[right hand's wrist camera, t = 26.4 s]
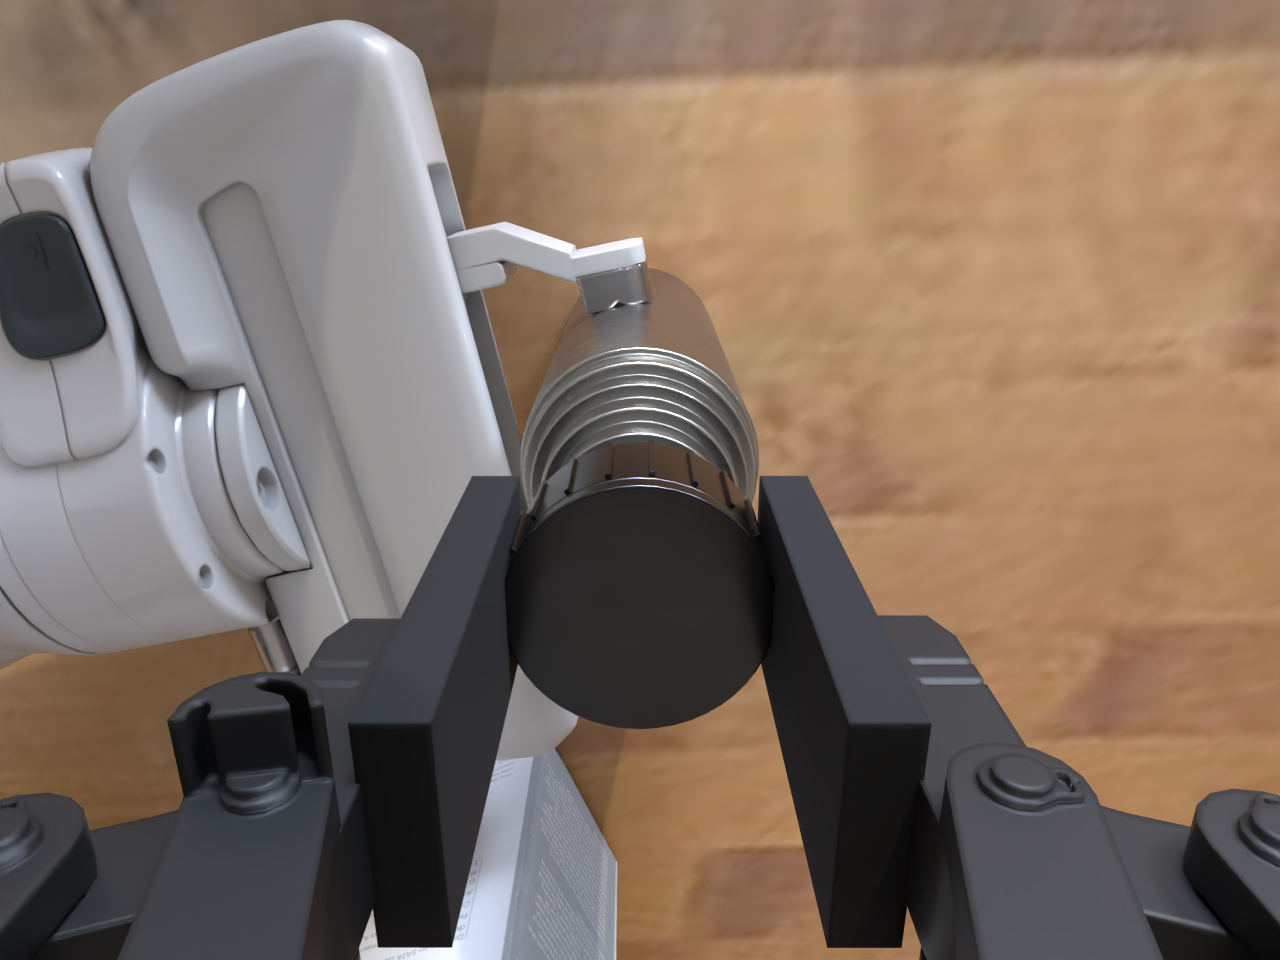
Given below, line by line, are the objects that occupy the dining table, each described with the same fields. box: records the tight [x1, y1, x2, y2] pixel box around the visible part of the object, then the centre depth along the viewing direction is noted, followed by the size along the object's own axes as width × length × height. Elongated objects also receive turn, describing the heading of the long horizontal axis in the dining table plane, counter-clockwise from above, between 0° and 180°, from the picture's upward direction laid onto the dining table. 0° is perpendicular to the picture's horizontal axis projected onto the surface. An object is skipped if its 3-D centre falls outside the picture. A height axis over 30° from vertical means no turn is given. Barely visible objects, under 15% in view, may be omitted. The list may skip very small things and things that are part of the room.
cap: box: [505, 441, 775, 729], centre depth 14 cm, size 4×4×2 cm
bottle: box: [520, 268, 759, 507], centre depth 22 cm, size 5×5×18 cm
